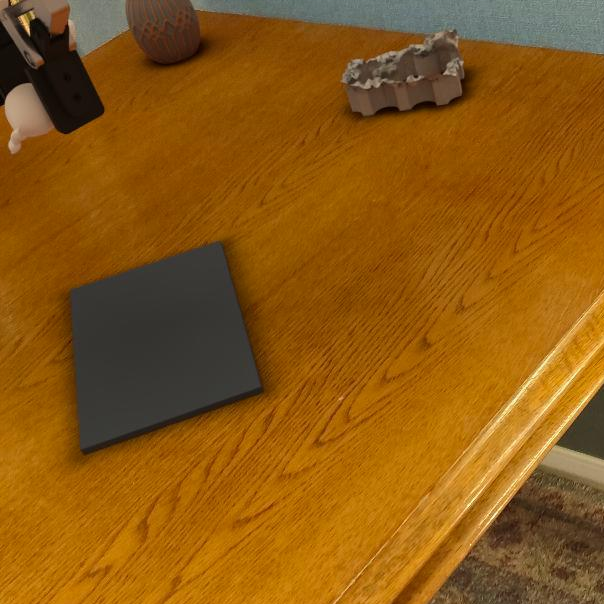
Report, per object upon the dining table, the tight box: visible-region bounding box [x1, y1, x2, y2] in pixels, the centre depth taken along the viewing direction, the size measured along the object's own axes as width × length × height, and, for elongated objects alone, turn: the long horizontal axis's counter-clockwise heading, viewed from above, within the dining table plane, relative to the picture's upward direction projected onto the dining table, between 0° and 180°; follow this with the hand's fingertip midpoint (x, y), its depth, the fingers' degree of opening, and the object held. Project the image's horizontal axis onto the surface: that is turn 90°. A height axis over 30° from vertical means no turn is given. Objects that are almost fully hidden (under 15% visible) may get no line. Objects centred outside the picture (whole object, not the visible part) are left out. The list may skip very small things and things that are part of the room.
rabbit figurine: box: [4, 18, 77, 155], centre depth 61 cm, size 6×4×8 cm
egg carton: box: [339, 28, 465, 117], centre depth 90 cm, size 11×8×4 cm
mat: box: [69, 240, 265, 456], centre depth 71 cm, size 20×12×1 cm, turn 20°
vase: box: [124, 0, 201, 65], centre depth 103 cm, size 7×7×9 cm
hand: (58, 111), depth 62 cm, fingers closed on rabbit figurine, 4 cm apart
